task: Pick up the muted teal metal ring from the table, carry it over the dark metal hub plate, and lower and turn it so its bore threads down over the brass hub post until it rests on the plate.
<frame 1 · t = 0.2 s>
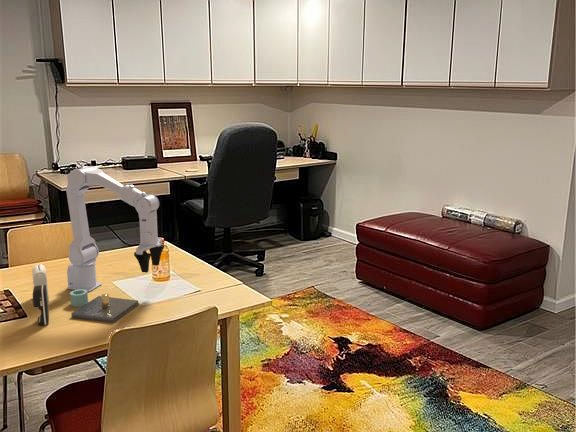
hand: (150, 268, 189), 10 cm above the table, tool pointing down, fingers open, 7 cm apart
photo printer: (42, 300, 186), on the table
battery charger: (42, 322, 169), on the table
hub plate: (106, 310, 178), on the table
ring: (79, 303, 184), on the table
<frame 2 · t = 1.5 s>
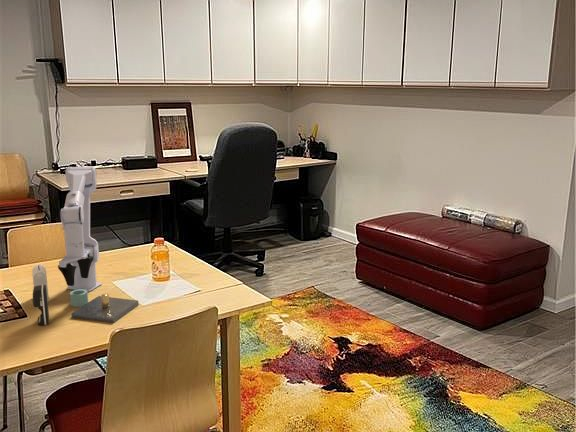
hand: (77, 281, 182), 8 cm above the table, tool pointing down, fingers open, 7 cm apart
nothing on the table moved.
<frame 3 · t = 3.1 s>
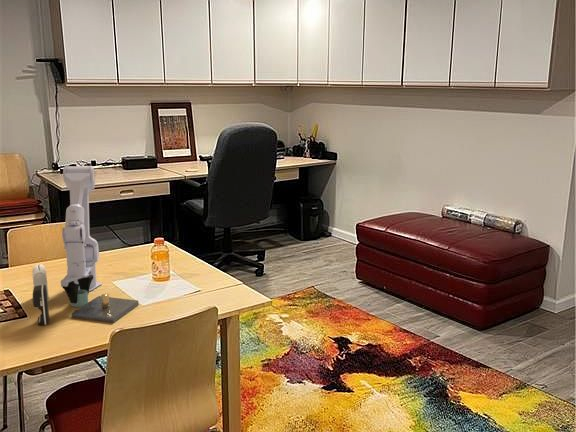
hand: (79, 299, 183), 1 cm above the table, tool pointing down, fingers closed on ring, 5 cm apart
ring: (79, 303, 184), on the table, touching gripper
everything else where it was.
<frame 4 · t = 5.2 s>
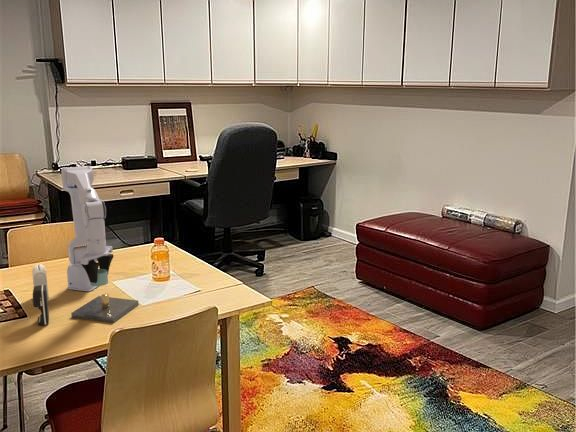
hand: (99, 279, 176), 11 cm above the table, tool pointing down, fingers closed on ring, 5 cm apart
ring: (99, 283, 177), point 9 cm above the table, touching gripper
everything else where it was.
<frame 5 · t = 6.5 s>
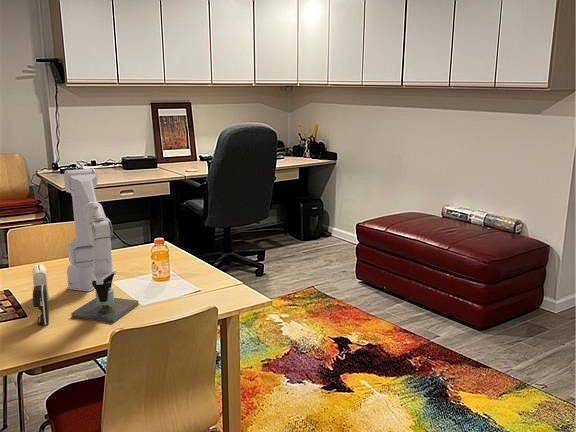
hand: (105, 297, 177), 4 cm above the table, tool pointing down, fingers closed on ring, 5 cm apart
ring: (105, 301, 177), point 3 cm above the table, touching gripper
everything else where it was.
when the fingers open (4 cm above the table, at t = 7.6 s): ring drops 1 cm, resting on hub plate.
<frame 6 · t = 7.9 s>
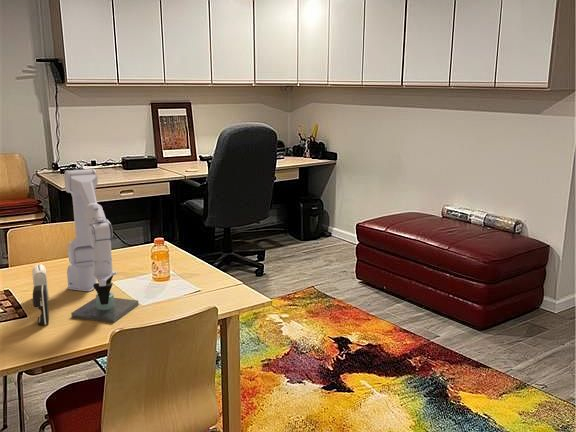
hand: (105, 299, 177), 4 cm above the table, tool pointing down, fingers open, 7 cm apart
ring: (105, 306, 178), point 1 cm above the table, touching hub plate
everything else where it was.
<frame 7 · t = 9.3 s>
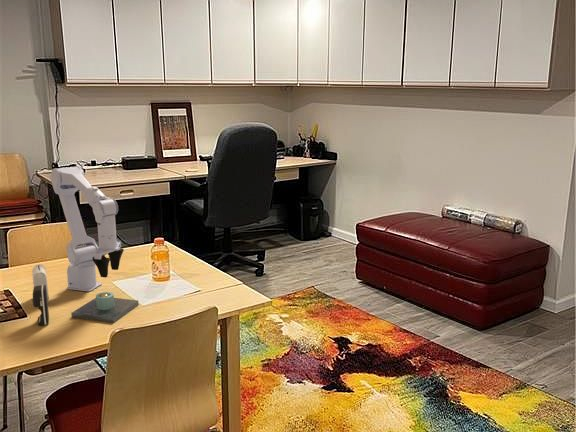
hand: (109, 273, 186), 9 cm above the table, tool pointing down, fingers open, 7 cm apart
nothing on the table moved.
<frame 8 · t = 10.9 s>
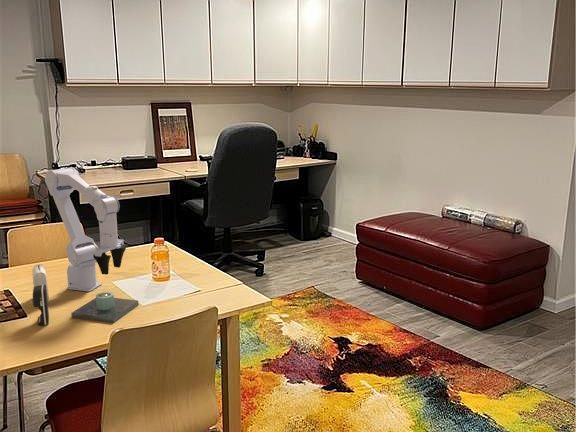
hand: (111, 270, 188), 9 cm above the table, tool pointing down, fingers open, 7 cm apart
nothing on the table moved.
at the end: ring 0.0 cm from the hub plate (horizontally); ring point 1.5 cm above the table; the gripper is holding nothing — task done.
